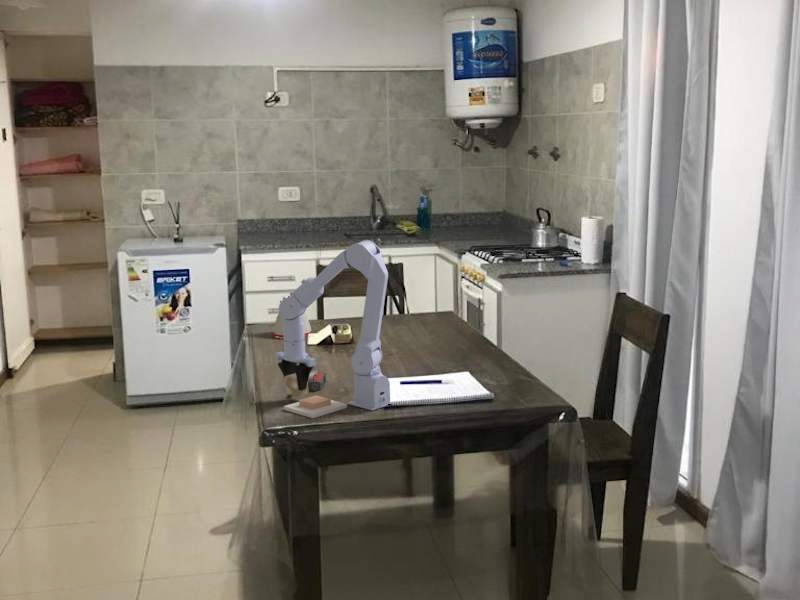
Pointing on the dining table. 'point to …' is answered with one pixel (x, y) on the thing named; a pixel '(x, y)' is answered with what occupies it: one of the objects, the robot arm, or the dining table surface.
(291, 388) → the birch block
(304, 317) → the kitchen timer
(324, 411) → the base plate
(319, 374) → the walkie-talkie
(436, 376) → the dining table surface
